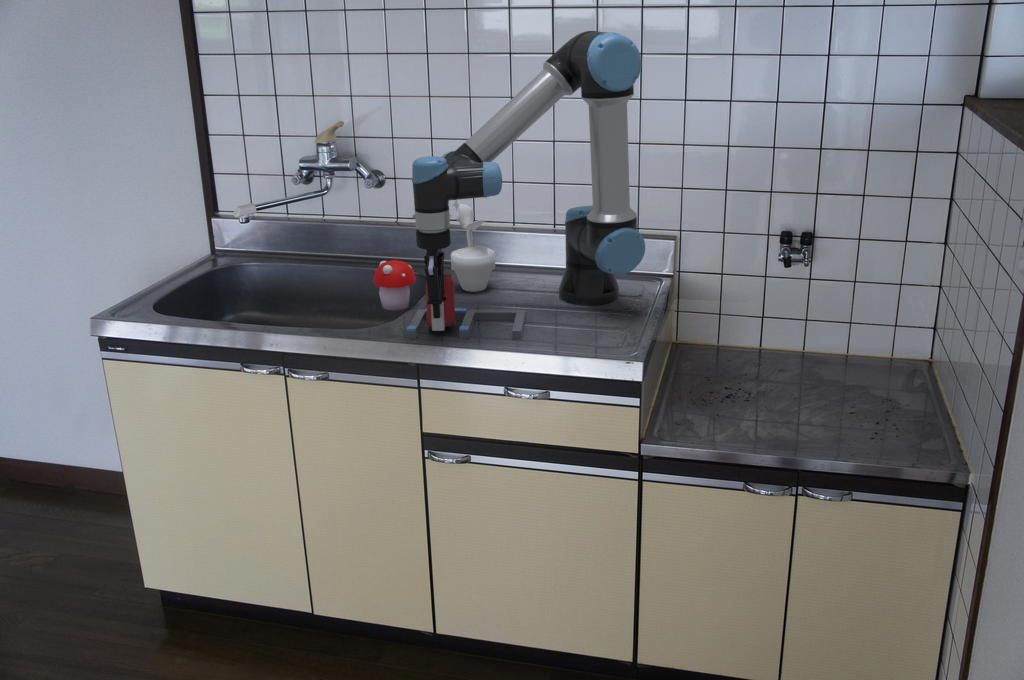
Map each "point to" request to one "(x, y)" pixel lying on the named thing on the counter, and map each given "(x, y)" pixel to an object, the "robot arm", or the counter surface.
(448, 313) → the beer can
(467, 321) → the duct comb
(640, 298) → the counter surface
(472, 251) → the potted plant
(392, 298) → the mushroom
